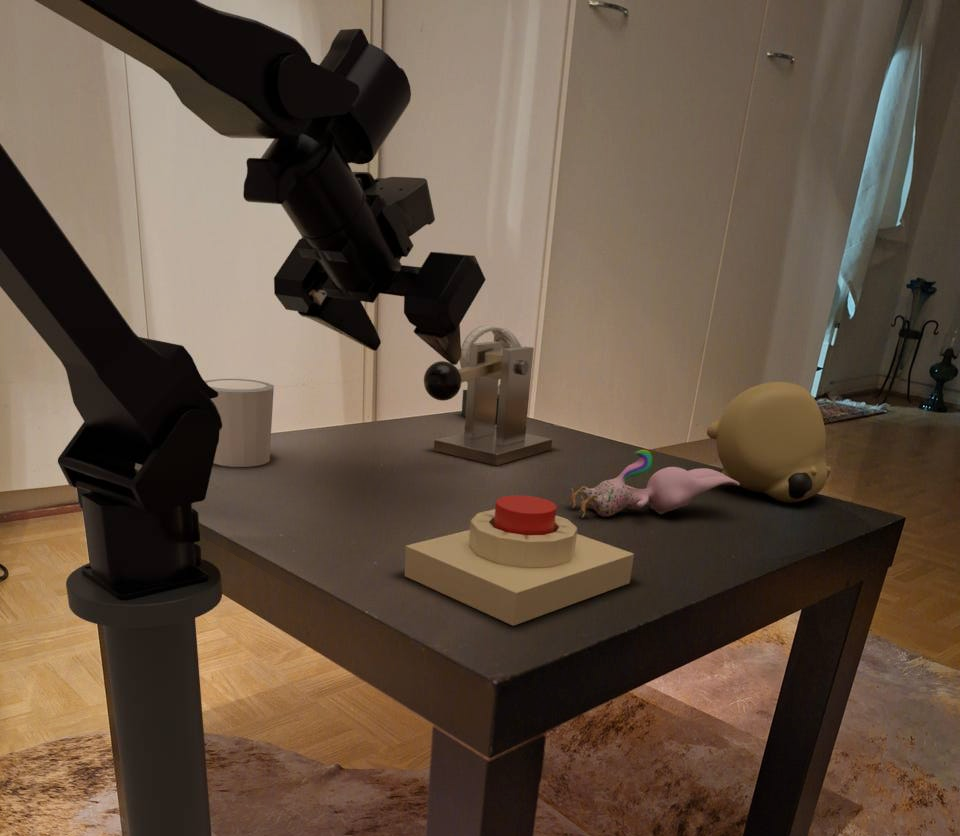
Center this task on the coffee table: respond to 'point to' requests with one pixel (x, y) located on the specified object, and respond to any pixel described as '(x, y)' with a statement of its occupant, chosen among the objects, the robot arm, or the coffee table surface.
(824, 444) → the tan animal figure
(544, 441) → the switch bracket
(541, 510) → the button
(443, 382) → the lever
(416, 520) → the coffee table surface
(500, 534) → the control block
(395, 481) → the coffee table surface
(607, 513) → the pink toy creature
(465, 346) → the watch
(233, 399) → the white cup
